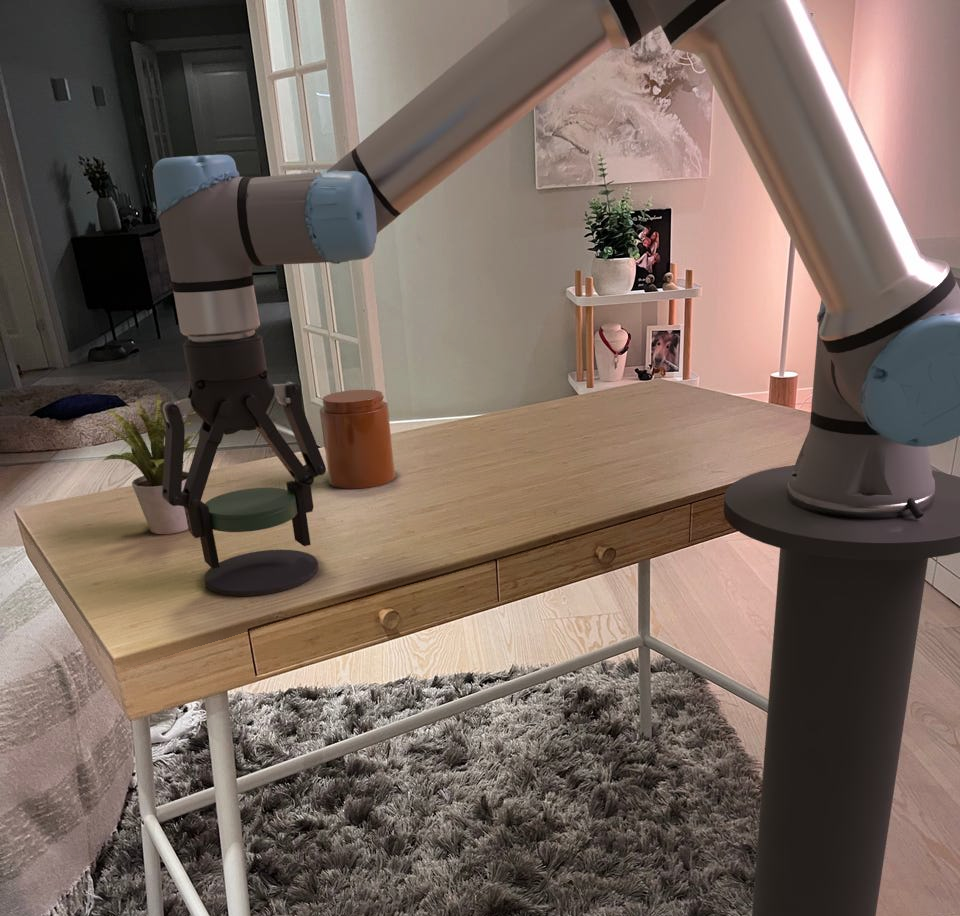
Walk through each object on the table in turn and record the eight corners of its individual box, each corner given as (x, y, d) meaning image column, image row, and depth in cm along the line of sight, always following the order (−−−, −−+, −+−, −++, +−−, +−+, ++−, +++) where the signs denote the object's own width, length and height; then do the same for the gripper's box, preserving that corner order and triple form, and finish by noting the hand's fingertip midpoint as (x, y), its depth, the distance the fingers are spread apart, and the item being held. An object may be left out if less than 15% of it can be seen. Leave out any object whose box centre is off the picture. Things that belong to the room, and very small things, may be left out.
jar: (406, 479, 134) (398, 395, 129) (345, 493, 130) (334, 406, 125) (377, 466, 141) (368, 385, 136) (318, 478, 137) (307, 396, 132)
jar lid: (201, 512, 104) (198, 496, 103) (288, 498, 107) (285, 482, 106) (212, 538, 96) (209, 521, 95) (305, 522, 99) (303, 505, 98)
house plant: (246, 534, 117) (222, 397, 110) (127, 557, 112) (94, 415, 105) (222, 504, 128) (199, 379, 121) (113, 524, 124) (83, 394, 116)
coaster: (336, 576, 102) (335, 571, 102) (225, 606, 97) (224, 600, 97) (294, 546, 112) (293, 541, 111) (191, 571, 106) (190, 566, 106)
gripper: (312, 317, 101) (339, 521, 111) (95, 346, 91) (145, 567, 101) (342, 323, 95) (367, 538, 105) (113, 355, 86) (164, 589, 95)
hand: (258, 553), depth 103 cm, fingers closed on jar lid, 9 cm apart
